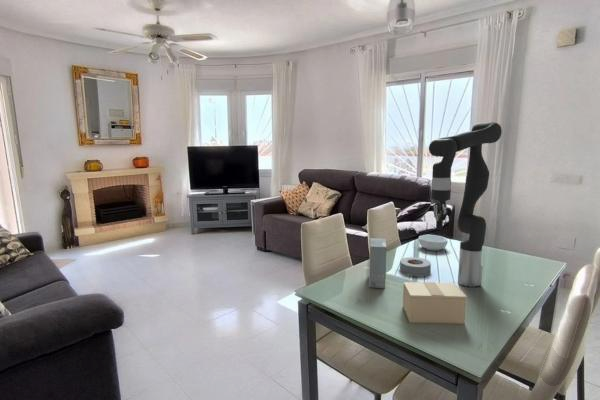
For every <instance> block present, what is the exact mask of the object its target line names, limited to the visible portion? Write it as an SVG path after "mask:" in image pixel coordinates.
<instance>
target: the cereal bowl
mask: <svg viewBox="0 0 600 400" xmlns="http://www.w3.org/2000/svg"><path fill="white" fill-rule="evenodd" d="M418 243H419V245H420V246H421V247H422V248H424V249H425V250H428V251H432V252H435V251H436V252H437V251H439V250H440V251H441V250H443V249H445V248H446V247H447V245H448V239H447V238H446V237H444V236H441V235H437V234H436V235H435V234H423V235H422V234H421V235H419V236H418Z"/></svg>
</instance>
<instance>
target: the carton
mask: <svg viewBox="0 0 600 400" xmlns="http://www.w3.org/2000/svg"><path fill="white" fill-rule="evenodd" d="M402 292H403V293H402V309H403V311H404V313H405V316H406V318H407V320H408V323H419V324H444V325H445V324H447V325H448V324H449V325H451V324H452V325H465V323H466V322H465V320H466V311H467V310H466V307H467V299H462V298H418V297H410V295H409V293H408V292H407V290H406V288H405V286H404V284H403V288H402Z"/></svg>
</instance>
